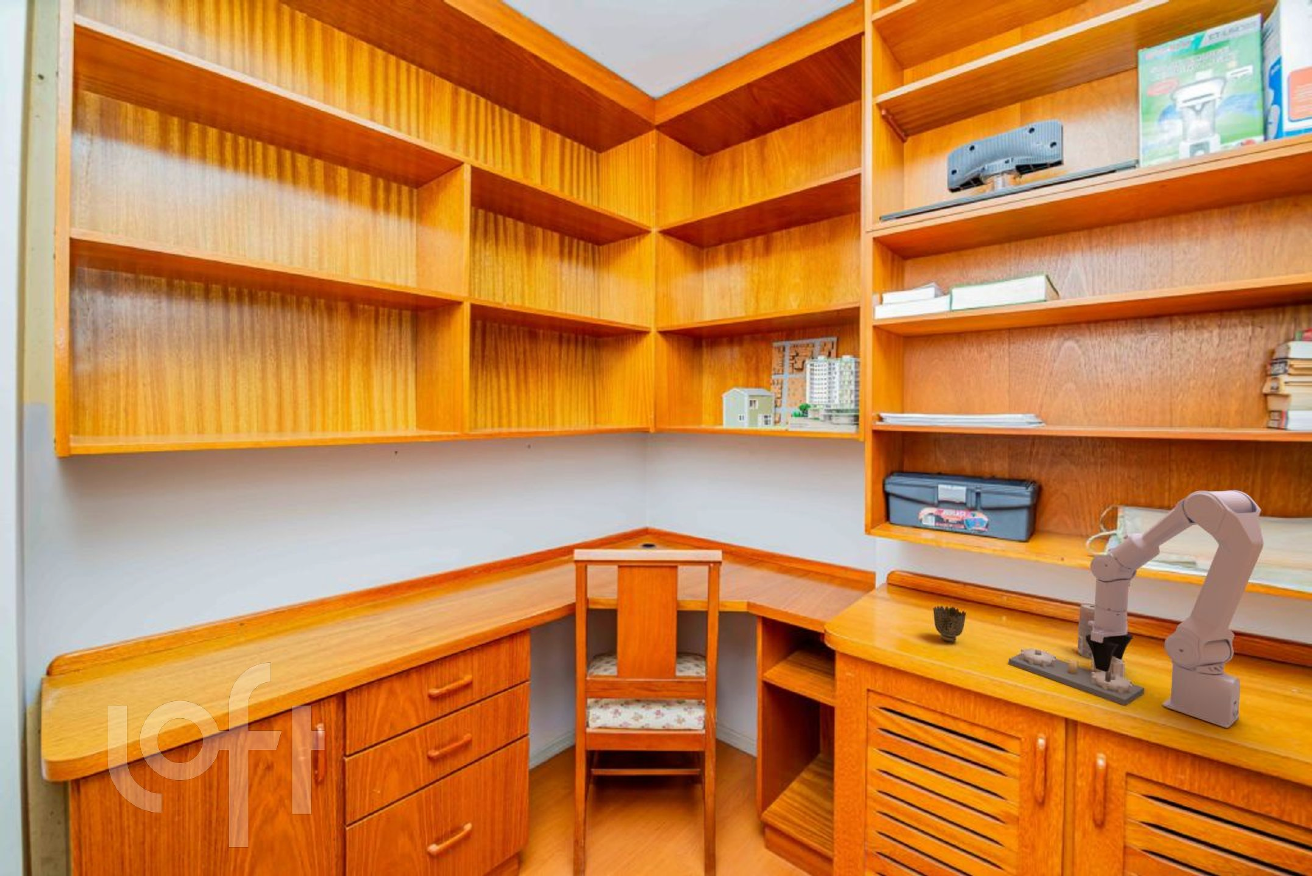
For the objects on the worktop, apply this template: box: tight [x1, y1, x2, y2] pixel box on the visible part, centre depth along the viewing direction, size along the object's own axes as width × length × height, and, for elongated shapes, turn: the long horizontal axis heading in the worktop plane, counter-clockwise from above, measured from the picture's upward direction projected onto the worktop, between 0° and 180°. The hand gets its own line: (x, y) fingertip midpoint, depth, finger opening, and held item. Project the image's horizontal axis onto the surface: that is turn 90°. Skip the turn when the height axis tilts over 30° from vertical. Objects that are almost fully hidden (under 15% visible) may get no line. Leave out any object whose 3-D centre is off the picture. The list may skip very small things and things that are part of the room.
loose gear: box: [1090, 654, 1126, 678], centre depth 128 cm, size 6×6×3 cm
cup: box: [932, 605, 967, 644], centre depth 144 cm, size 8×7×8 cm
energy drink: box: [1077, 603, 1095, 660], centre depth 137 cm, size 5×5×12 cm
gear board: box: [1007, 647, 1145, 706], centre depth 125 cm, size 22×10×4 cm, turn 32°
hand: (1107, 666), depth 128 cm, fingers closed on loose gear, 6 cm apart
